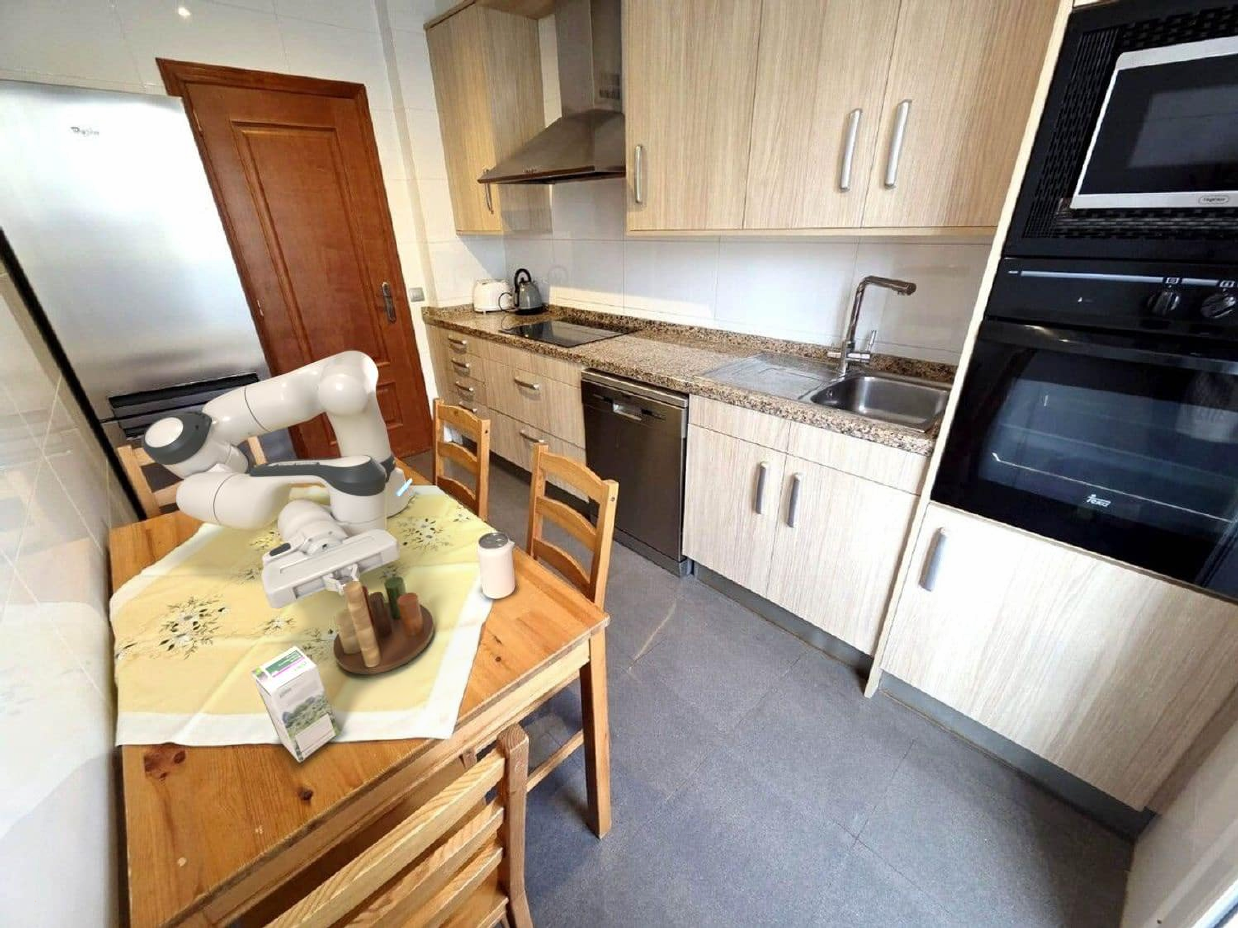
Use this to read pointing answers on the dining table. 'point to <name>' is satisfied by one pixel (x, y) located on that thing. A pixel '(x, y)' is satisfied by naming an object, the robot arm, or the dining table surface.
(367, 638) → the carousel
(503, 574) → the can
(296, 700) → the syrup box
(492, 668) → the dining table surface
